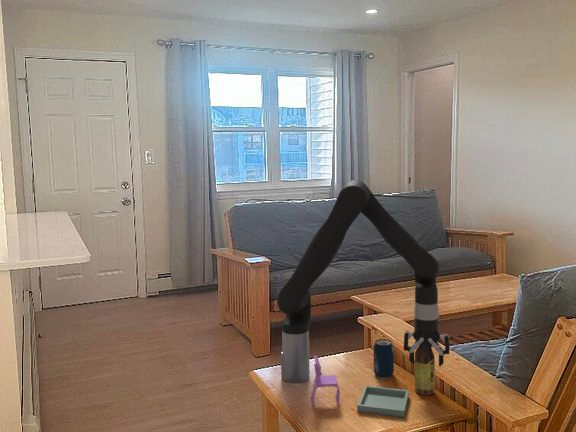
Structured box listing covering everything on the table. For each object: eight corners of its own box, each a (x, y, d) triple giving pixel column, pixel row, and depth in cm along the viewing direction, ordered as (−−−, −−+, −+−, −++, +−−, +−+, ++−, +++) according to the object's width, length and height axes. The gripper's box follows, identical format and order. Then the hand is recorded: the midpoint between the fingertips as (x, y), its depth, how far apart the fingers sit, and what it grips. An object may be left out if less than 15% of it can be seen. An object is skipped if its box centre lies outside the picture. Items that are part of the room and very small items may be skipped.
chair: (340, 407, 168) (339, 361, 166) (312, 408, 168) (311, 362, 166) (337, 395, 176) (336, 351, 174) (310, 396, 176) (309, 351, 174)
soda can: (396, 373, 192) (396, 340, 190) (389, 380, 186) (389, 346, 184) (378, 369, 196) (378, 337, 194) (370, 376, 190) (370, 343, 188)
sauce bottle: (435, 396, 173) (435, 336, 171) (414, 395, 174) (415, 335, 172) (433, 387, 180) (434, 329, 177) (414, 386, 181) (414, 329, 178)
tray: (357, 412, 165) (357, 405, 164) (365, 391, 178) (365, 385, 178) (404, 417, 160) (404, 410, 160) (408, 396, 174) (408, 390, 173)
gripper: (402, 317, 172) (402, 366, 174) (449, 320, 168) (449, 371, 170) (404, 310, 179) (405, 358, 181) (449, 313, 175) (449, 361, 177)
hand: (426, 364), depth 175 cm, fingers open, 8 cm apart
